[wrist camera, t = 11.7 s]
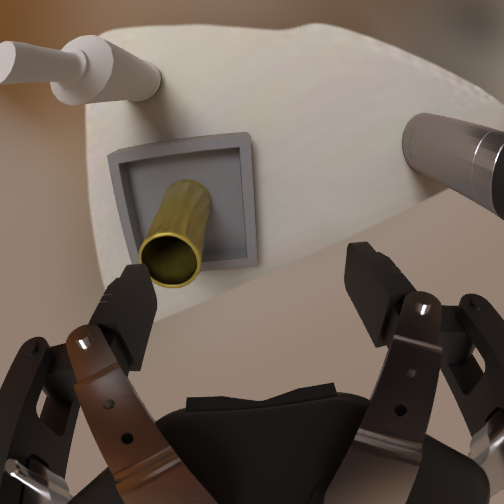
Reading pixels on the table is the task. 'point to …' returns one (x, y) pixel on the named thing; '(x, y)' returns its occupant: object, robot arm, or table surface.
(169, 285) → the vase
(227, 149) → the bin
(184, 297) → the table surface
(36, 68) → the bottle
